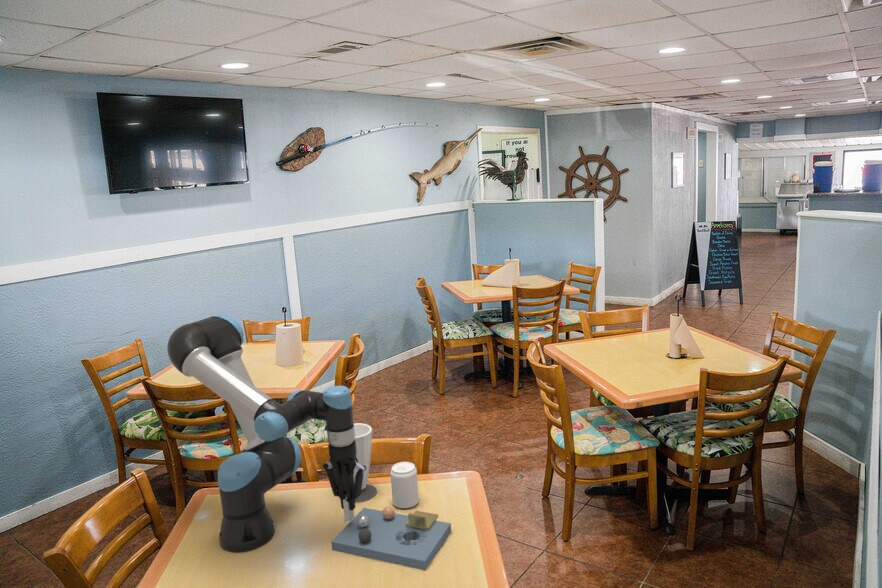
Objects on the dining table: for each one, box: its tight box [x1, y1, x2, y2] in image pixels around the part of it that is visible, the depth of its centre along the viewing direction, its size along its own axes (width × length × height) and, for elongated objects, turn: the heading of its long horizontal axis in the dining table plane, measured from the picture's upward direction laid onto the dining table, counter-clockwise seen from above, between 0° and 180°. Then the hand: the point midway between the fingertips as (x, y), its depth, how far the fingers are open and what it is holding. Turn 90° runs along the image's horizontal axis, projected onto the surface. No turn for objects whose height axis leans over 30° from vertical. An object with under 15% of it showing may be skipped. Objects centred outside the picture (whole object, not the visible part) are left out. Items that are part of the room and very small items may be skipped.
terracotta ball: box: [382, 506, 396, 519], centre depth 176 cm, size 4×4×4 cm
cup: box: [353, 422, 378, 504], centre depth 194 cm, size 12×12×22 cm
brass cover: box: [406, 510, 439, 530], centre depth 173 cm, size 7×7×4 cm
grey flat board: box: [331, 507, 452, 571], centre depth 170 cm, size 28×18×2 cm, turn 68°
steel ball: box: [357, 515, 369, 528], centre depth 173 cm, size 4×4×4 cm
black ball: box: [358, 529, 371, 542], centre depth 166 cm, size 4×4×4 cm
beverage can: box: [390, 461, 420, 509], centre depth 188 cm, size 8×8×12 cm
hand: (349, 519), depth 174 cm, fingers closed
